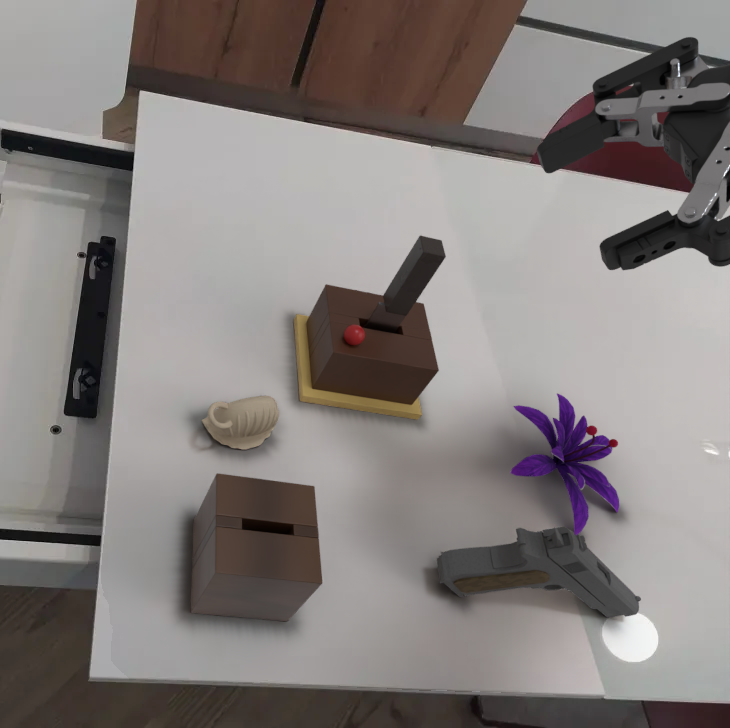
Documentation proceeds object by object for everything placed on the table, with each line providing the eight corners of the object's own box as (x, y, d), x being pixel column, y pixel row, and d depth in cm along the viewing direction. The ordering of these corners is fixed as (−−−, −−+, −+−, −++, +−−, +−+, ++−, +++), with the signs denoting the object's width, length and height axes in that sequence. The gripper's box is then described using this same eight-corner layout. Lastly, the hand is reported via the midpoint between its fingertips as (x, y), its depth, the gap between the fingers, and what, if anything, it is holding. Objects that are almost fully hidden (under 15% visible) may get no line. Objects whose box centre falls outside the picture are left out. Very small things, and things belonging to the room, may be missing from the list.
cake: (402, 339, 83) (439, 286, 77) (418, 420, 77) (459, 369, 70) (293, 319, 81) (321, 262, 74) (299, 401, 74) (331, 346, 67)
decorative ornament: (281, 443, 70) (299, 411, 66) (199, 457, 66) (213, 425, 62) (266, 408, 72) (283, 375, 68) (185, 420, 68) (199, 386, 64)
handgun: (427, 549, 64) (564, 508, 58) (517, 613, 74) (642, 584, 68) (431, 580, 62) (573, 542, 56) (523, 641, 72) (651, 614, 66)
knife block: (283, 530, 64) (314, 485, 58) (287, 621, 59) (323, 583, 53) (193, 519, 62) (216, 472, 56) (190, 613, 57) (215, 572, 51)
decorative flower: (532, 372, 81) (585, 344, 75) (629, 476, 81) (689, 456, 75) (477, 449, 74) (530, 423, 67) (583, 564, 73) (646, 549, 67)
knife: (371, 357, 79) (447, 241, 66) (373, 373, 78) (451, 257, 65) (343, 352, 78) (414, 233, 65) (345, 368, 77) (418, 250, 64)
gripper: (798, -64, 40) (510, 91, 45) (1002, 84, 32) (622, 256, 37) (787, 43, 46) (532, 171, 51) (958, 193, 38) (633, 329, 42)
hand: (570, 206), depth 44 cm, fingers open, 8 cm apart
